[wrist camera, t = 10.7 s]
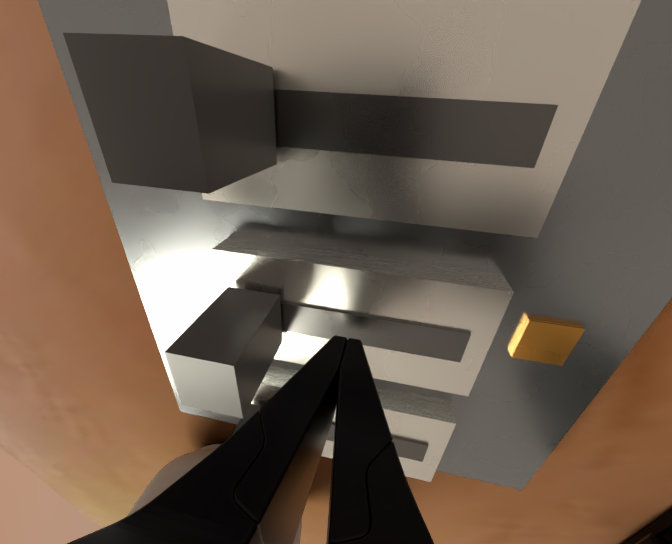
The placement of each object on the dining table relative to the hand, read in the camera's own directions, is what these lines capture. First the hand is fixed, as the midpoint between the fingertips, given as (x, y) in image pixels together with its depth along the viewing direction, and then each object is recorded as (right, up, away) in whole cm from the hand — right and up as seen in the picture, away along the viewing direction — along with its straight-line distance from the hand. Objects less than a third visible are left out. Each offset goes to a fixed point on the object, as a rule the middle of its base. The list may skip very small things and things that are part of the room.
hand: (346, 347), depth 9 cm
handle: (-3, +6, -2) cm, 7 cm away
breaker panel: (+1, +2, +3) cm, 3 cm away
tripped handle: (-3, +1, +1) cm, 3 cm away
